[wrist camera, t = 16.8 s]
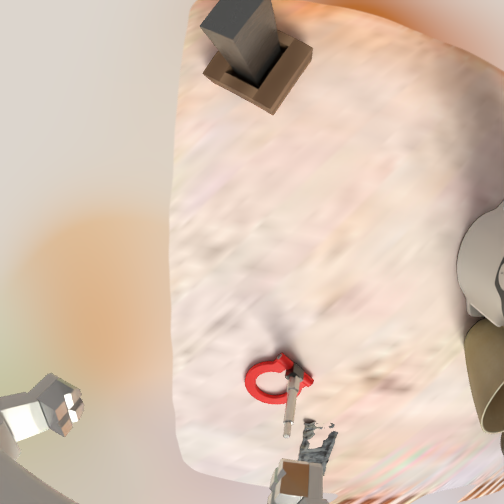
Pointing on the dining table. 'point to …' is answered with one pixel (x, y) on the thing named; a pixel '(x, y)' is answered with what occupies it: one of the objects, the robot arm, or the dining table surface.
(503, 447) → the gourd
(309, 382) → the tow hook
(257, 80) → the gray rectangular bar
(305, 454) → the driftwood
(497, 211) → the robot arm
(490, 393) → the plant pot
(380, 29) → the dining table surface
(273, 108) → the brown square socket block
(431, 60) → the dining table surface
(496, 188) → the dining table surface
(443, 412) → the dining table surface
